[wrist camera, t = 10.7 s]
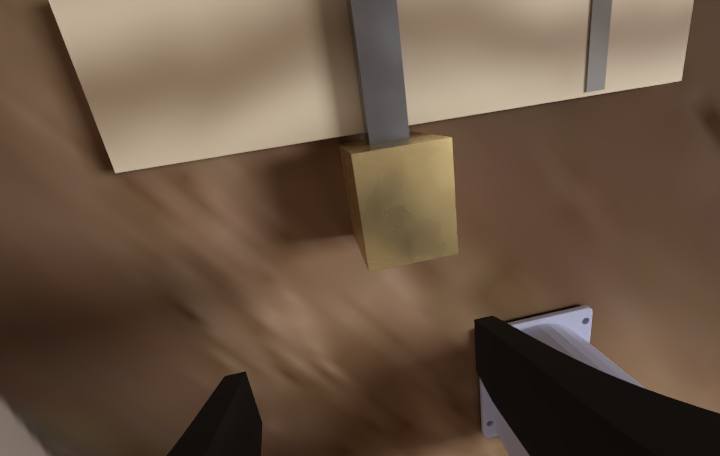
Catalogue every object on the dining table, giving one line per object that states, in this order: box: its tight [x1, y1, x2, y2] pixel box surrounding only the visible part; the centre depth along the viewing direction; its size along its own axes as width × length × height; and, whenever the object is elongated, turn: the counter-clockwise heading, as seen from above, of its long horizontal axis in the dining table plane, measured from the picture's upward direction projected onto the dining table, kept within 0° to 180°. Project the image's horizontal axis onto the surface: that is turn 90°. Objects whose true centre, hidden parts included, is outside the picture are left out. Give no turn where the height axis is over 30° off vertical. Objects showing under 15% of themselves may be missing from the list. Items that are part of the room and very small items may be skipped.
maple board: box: [48, 0, 694, 173], centre depth 16 cm, size 7×28×2 cm, turn 99°
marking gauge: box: [339, 0, 458, 272], centre depth 15 cm, size 12×4×5 cm, turn 9°
